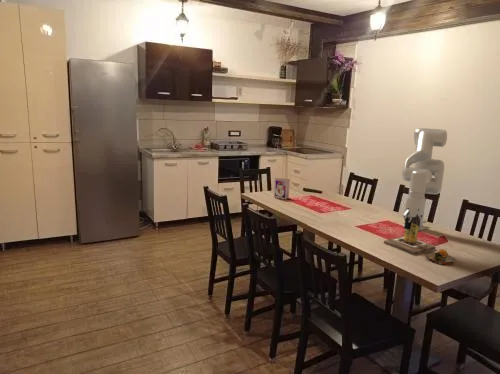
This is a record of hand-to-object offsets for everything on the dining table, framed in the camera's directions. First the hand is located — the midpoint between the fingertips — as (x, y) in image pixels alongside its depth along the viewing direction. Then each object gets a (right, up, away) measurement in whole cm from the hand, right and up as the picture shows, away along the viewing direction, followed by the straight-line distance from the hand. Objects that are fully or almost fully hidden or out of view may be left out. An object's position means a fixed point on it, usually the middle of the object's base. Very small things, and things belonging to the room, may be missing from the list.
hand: (411, 227), depth 198 cm
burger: (+7, -14, -15) cm, 22 cm away
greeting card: (-60, +13, +94) cm, 112 cm away
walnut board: (0, -10, +2) cm, 10 cm away
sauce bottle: (0, -8, +2) cm, 9 cm away
